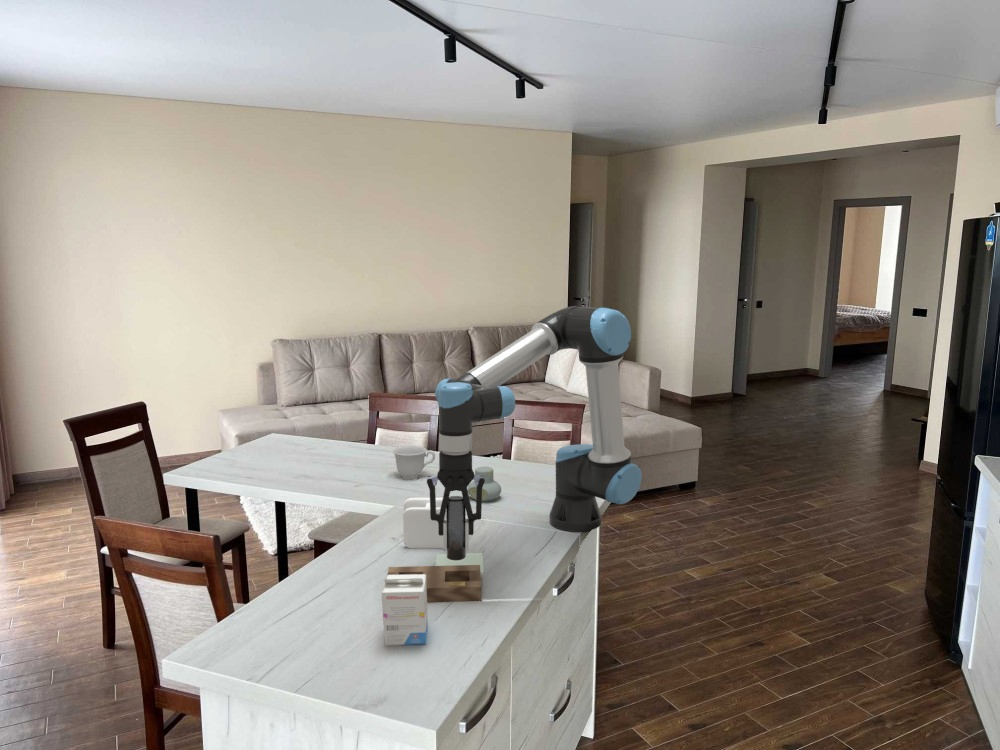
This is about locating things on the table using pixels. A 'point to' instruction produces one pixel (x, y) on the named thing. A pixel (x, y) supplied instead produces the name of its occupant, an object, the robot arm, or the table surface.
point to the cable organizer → (421, 524)
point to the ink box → (405, 609)
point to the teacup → (411, 460)
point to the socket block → (447, 582)
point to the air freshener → (485, 485)
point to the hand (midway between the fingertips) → (456, 547)
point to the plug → (456, 528)
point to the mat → (468, 560)
